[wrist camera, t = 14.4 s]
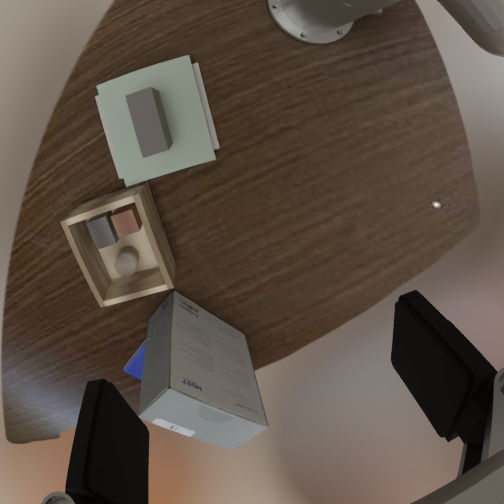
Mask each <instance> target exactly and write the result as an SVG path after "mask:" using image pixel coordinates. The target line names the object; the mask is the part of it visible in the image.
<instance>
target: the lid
mask: <svg viewBox="0 0 504 504" xmlns="http://www.w3.org/2000/svg"><path fill="white" fill-rule="evenodd" d="M97 89H98V93H99V97H100V101H101V105H102V108H103V112H104V116H105V119H106V123H107V126H108V130H109V133H110V137H111V140H112V143H113V147H114V150H115V153H116V157H117V160H118V163H119V166H120V169H121V172H122V175H123V178H124V181H125V184H126V187H128V186H131V185H134V184H137V183H140V182H143V181H146V180H149V179H152V178H155V177H158V176H161V175H165V174H168V173H171V172H174V171H178V170H181V169H184V168H188V167H191V166H195V165H198V164H202V163H205V162H209V161H212V160H216V158H215V154H214V150H213V146H212V142H211V138H210V135H209V131H208V127H207V123H206V119H205V115H204V111H203V108H202V104H201V100H200V96H199V92H198V88H197V84H196V80H195V76H194V72H193V68H192V64H191V60H190V57H189V55H187V56H183V57H179V58H176V59H172V60H169V61H165V62H162V63H159V64H155V65H152V66H149V67H146V68H143V69H140V70H137V71H134V72H131V73H129V74H126V75H123V76H120V77H118V78H115V79H112V80H110V81H107V82H105V83H102V84H100V85H97Z"/></svg>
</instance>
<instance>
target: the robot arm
mask: <svg viewBox="0 0 504 504" xmlns="http://www.w3.org/2000/svg"><path fill="white" fill-rule="evenodd" d="M399 1H401V0H267V6H268V10H269V13H270V15H271V17H272V19H273V20H274V22H275V23H276V25H277V26H278V27H279V28H280V29H281V30H282V31H284V32H285V33H286V34H288V35H289V36H291V37H292V38H294V39H296V40H299V41H302V42H304V43H309V44H327V43H331V42H334V41H336V40H338V39H340V38H342V37H343V36H344V35H346V34H347V33H348V31H349V30H350V29H351V27H352V25H353V22H354V20H356V19H359V18H361V17H363V16H366V15H368V14H381V13H382V10H383V8H385V7H388V6H390V5H393V4H395V3H398V2H399ZM437 1H438V2H439V3H440V4H441V5H442V6H443V7H444V8H445V9H446V10H447V11H448V12H449V13H450V15H451V16H452V17H453V18H454V19H455V20H456V21H457V22H458V24H459V25H460V26H461V27H462V28H463V29H464V30H465V32H466V33H467V34H468V35H469V36H470V37H471V38H472V40H473V41H474V42H475V43H476V44H478V45H479V46H480V47H481V48H482V49H484V50H485V51H487V52H488V53H491V54H493V55H496V56H501V57H504V0H437ZM273 7H275V8H276V9H274V8H273ZM337 32H338V33H339V34H338V33H337ZM300 35H302V36H303V37H301V36H300ZM391 362H392V365H393V367H394V369H395V370H396V372H397V373H398V374H399V376H400V377H401V379H402V380H403V382H404V383H405V385H406V386H407V388H408V389H409V391H410V392H411V394H412V395H413V397H414V398H415V400H416V401H417V403H418V404H419V406H420V407H421V409H422V410H423V412H424V413H425V415H426V416H427V418H428V420H429V421H430V423H431V424H432V426H433V427H434V429H435V430H436V432H437V434H438V435H439V436H440V437H445V438H446V440H447V441H448V442H450V441H451V440H453V439H455V438H456V437H458V436H459V437H460V438H461V440H462V441H463V443H464V445H463V450H462V456H461V461H460V466H459V470H458V474H457V478H456V479H455V480H453V481H452V482H450V483H448V484H446V485H445V486H443V487H441V488H439V489H437V490H436V491H434V492H432V493H430V494H428V495H426V496H425V497H423V498H421V499H419V500H417V501H415V502H413V503H411V504H504V368H502V369H501V370H500V371H498V372H497V371H496V370H495V368H494V367H493V366H492V365H491V364H490V363H489V362H488V361H487V360H486V358H485V357H484V356H483V355H482V354H481V353H480V352H479V351H478V350H477V349H476V348H475V347H474V346H473V344H472V343H471V342H470V341H469V340H468V339H467V338H466V337H465V336H464V335H463V334H462V333H461V332H460V331H459V330H458V329H457V328H456V327H455V326H454V325H453V324H452V323H451V322H450V321H449V320H447V319H446V318H445V317H444V316H443V315H442V314H441V313H440V312H439V311H438V310H437V309H436V308H435V307H434V306H433V305H432V304H431V303H430V302H429V301H428V300H427V299H426V298H425V297H424V296H423V295H421V294H420V293H419V292H418V291H417V290H414V291H411V292H409V293H406V294H404V295H401V296H400V297H399V300H398V302H396V304H395V314H394V329H393V342H392V352H391ZM148 460H149V431H148V429H147V427H146V425H145V424H144V423H143V422H142V421H141V419H140V418H139V417H138V416H137V415H136V413H135V412H134V411H133V410H132V408H131V407H130V406H129V405H128V403H127V402H126V401H125V399H124V398H123V397H122V395H121V394H120V393H119V391H118V390H117V389H116V387H115V386H114V385H113V384H112V383H111V382H108V381H107V380H105V379H99V380H93V381H89V382H88V383H87V385H86V389H85V393H84V397H83V401H82V405H81V409H80V413H79V418H78V422H77V426H76V431H75V436H74V441H73V446H72V451H71V457H70V462H69V468H68V474H67V480H66V486H65V488H66V490H65V493H64V492H59V491H58V492H53V493H51V494H49V495H47V496H46V498H44V500H43V502H42V504H148V465H149V461H148Z"/></svg>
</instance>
